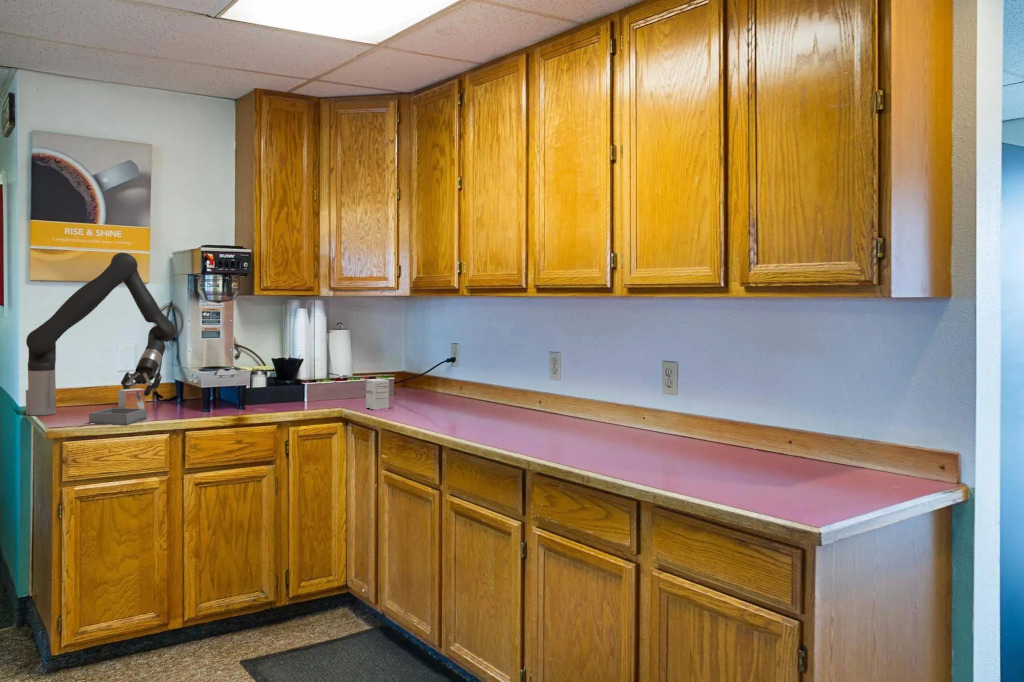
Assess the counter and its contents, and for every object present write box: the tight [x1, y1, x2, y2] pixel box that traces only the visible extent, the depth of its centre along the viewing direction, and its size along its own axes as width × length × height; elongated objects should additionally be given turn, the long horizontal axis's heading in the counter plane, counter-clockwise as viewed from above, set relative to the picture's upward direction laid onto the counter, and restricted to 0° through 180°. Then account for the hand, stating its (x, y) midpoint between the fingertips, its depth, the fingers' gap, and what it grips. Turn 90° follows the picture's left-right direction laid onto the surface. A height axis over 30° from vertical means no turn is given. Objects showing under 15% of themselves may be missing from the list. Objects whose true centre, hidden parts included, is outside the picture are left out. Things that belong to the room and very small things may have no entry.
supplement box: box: [365, 378, 390, 410], centre depth 340 cm, size 7×7×13 cm
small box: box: [117, 387, 146, 409], centre depth 311 cm, size 8×6×10 cm
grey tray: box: [88, 407, 148, 426], centre depth 298 cm, size 14×14×4 cm
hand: (135, 394), depth 312 cm, fingers open, 8 cm apart
